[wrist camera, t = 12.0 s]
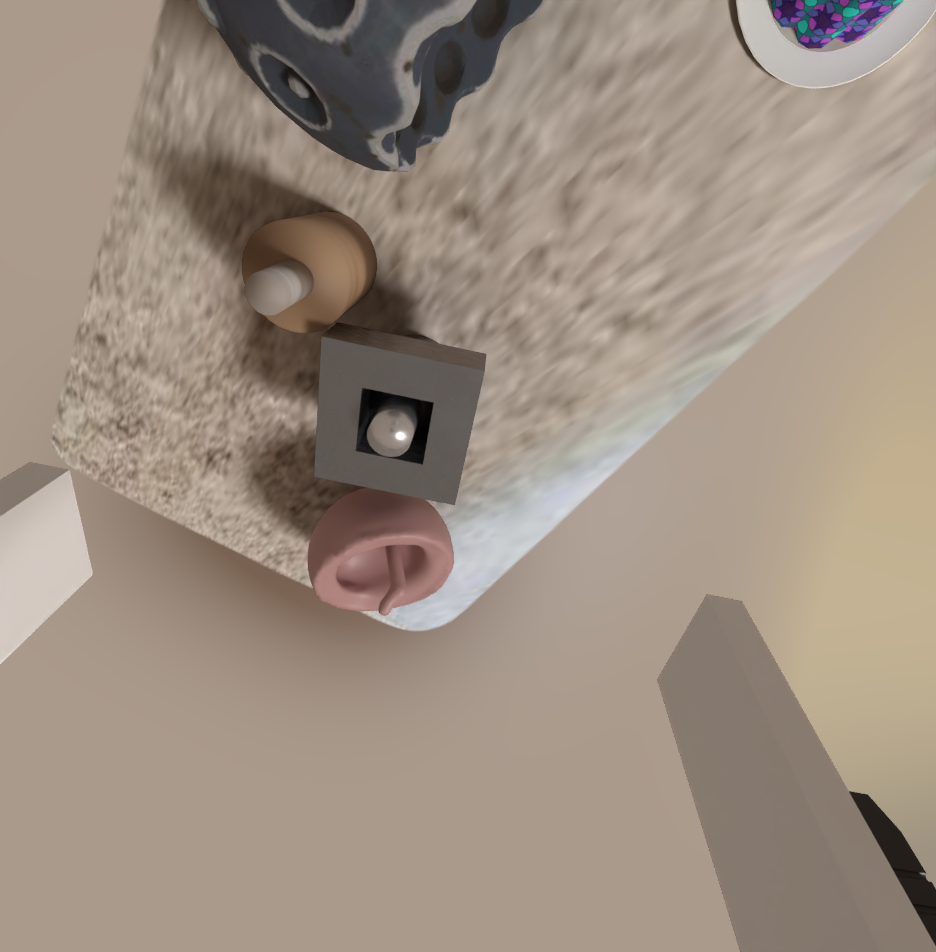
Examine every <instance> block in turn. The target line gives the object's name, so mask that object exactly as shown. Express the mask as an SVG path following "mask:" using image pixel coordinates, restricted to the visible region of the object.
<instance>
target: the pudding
mask: <svg viewBox="0 0 936 952" xmlns="http://www.w3.org/2000/svg"><path fill="white" fill-rule="evenodd" d="M902 1H903V2H902ZM901 2H902V3H901ZM900 3H901V5H900V6H899V7H898V8H897V9H896V11H895V12H894V13H893V14H892V15H891V16H890V17H889V18H888V20H886V21H885V22H884V23H883V24H882V25H881V26H880V27H879V28H878V29H876V30H875V31H874V32H873V33H871V34H870V35H868V36H867V37H865V38H864V39H862V40H861V41H859V42H857V43H855V44H852V45H850V46H848V47H846V48H842V49H839V50H835V51H829V52H814V51H807V50H805V49H802V48H799V47H797V46H795V45H794V44H792V43H791V42H790V41H788V40H787V39H786V38H785V37H784V36H783V34H782V33H781V32H780V31H779V30H778V28H777V26H776V24H775V22H774V20H773V18H772V15H771V12H770V9H769V5H768V0H736V5H737V12H738V19H739V24H740V27H741V30H742V33H743V36H744V39H745V42H746V44H747V45H748V47H749V49H750V51H751V52H752V54H753V56H754V58H755V59H756V60H757V61H758V62H759V63H760V65H761V66H762V67H763V68H764V69H765V70H766V71H767V72H769V73H770V74H771V75H773V76H774V77H776V78H777V79H779V80H780V81H783V82H785V83H788V84H791V85H793V86H797V87H804V88H812V89H815V88H826V87H834V86H837V85H841V84H844V83H848V82H851V81H853V80H855V79H858V78H860V77H862V76H864V75H866V74H868V73H870V72H872V71H873V70H875V69H877V68H878V67H880V66H881V65H883V64H884V63H886V62H887V61H889V60H890V59H891V58H892V57H894V56H895V55H896V54H897V53H898V52H899V51H901V50H902V49H903V48H904V47H905V46H906V45H908V44H909V43H910V42H911V41H912V39H913V38H914V37H915V36H916V35H917V34H918V33H919V32H920V31H921V30H922V29H923V27H924V26H925V25H926V24H927V23H928V21H929V20H930V19H931V17H932V16H933V15H934V13H935V12H936V0H772V1H771V4H772V10H773V15H774V18H775V19H776V20H777V22H778V23H779V24H780V26H781V27H792V28H795V30H796V34H797V38H798V42H799V43H800V44H802V45H804V46H805V47H807V48H822V47H823V46H825V45H826V44H827V43H829V42H830V41H832V40H833V39H834V38H837V39H839V40H841V41H843V42H845V43H849V42H852V41H854V40H857V39H860V38H861V37H863V36H864V35H865V34H866V33H868V32H869V31H870V30H871V29H872V28H874V27H875V26H876V25H877V24H878V23H879V22H880V21H881V20H882V19H884V18H885V17H886V16H887V15H888V14H889V13H890V12H891V11H892V10H894V9H895V8H896V7H897V6H898V5H899V4H900Z"/></svg>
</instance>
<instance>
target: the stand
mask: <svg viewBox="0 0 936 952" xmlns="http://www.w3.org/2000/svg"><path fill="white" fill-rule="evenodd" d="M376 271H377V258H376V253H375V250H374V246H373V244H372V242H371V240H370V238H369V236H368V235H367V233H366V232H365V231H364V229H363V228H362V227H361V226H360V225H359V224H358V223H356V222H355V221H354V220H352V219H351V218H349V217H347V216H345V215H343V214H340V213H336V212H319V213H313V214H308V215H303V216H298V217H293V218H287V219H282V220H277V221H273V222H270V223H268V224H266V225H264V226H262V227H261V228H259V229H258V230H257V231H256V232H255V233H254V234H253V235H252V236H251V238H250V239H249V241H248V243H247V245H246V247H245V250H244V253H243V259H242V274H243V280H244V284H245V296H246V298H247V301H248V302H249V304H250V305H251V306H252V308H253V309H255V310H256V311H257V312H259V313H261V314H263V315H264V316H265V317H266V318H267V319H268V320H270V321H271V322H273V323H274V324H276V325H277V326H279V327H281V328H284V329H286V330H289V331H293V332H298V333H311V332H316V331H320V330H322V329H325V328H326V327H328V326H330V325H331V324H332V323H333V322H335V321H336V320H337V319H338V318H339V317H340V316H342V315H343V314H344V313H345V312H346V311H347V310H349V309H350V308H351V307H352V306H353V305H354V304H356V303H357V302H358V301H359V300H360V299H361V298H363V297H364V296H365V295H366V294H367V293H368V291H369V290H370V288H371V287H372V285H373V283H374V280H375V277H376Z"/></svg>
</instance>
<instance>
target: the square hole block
mask: <svg viewBox="0 0 936 952" xmlns="http://www.w3.org/2000/svg"><path fill="white" fill-rule="evenodd" d="M485 362H486V354H484V353H479V352H474V351H470V350H465V349H460V348H456V347H451V346H446V345H441V344H437V343H432V342H427V341H423V340H418V339H413V338H409V337H404V336H399V335H395V334H390V333H385V332H381V331H376V330H371V329H367V328H362V327H357V326H353V325H348V324H343V323H336V324H335V325H334V326H333V327H332V328H331V329H330V330H328V331H327V332H326V333H325V334H324V335H323V336H322V337H321V356H320V374H319V393H318V412H317V430H316V449H315V467H314V477H316V478H321V479H326V480H331V481H337V482H342V483H347V484H352V485H357V486H362V487H367V488H372V489H377V490H382V491H387V492H392V493H397V494H402V495H407V496H412V497H417V498H422V499H427V500H432V501H437V502H442V503H447V504H452V505H455V502H456V497H457V493H458V488H459V484H460V479H461V475H462V470H463V466H464V461H465V457H466V452H467V448H468V443H469V439H470V434H471V430H472V425H473V421H474V416H475V412H476V407H477V403H478V398H479V394H480V389H481V385H482V380H483V376H484V371H485ZM372 390H376V391H381V392H385V393H390V394H395V395H400V396H405V397H410V398H414V399H419V400H424V401H429V402H434V405H433V410H432V416H431V422H430V427H429V433H428V439H427V441H423V440H418V439H413V438H412V441H411V444H410V447H409V448H408V450H407V451H406V452H405V453H403V454H402V455H400V456H396V457H386V456H383V455H381V454H379V453H377V452H376V451H375V450H373V448H372V447H371V446H370V444H369V442H368V439H367V430H368V420H369V411H370V401H371V392H372Z"/></svg>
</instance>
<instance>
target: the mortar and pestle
mask: <svg viewBox="0 0 936 952" xmlns="http://www.w3.org/2000/svg"><path fill="white" fill-rule="evenodd" d="M453 564H454V552H453V546H452V542H451V537H450V534H449V531H448V529H447V526H446V524H445V522H444V521H443V519H442V517H441V516H440V514H439V513H438V512H437V511H436V509H435V508H434V507H433V506H432V505H431V504H430V503H429V502H427V501H426V500H425V499H422V498H417V497H412V496H407V495H402V494H397V493H392V492H387V491H382V490H377V489H372V488H367V487H365V488H361V489H358V490H355V491H353V492H351V493H349V494H347V495H345V496H343V497H342V498H340V499H339V500H337V501H336V502H335V503H333V504H332V505H331V506H330V507H329V508H328V509H327V511H326V512H325V513H324V514H323V515H322V517H321V518H320V520H319V521H318V523H317V525H316V527H315V529H314V531H313V534H312V536H311V540H310V544H309V549H308V571H309V576H310V580H311V583H312V586H313V589H314V592H315V593H316V594H317V596H318V597H319V598H320V599H321V601H323V602H326V603H328V604H330V605H332V606H335V607H339V608H343V609H348V610H355V611H376V610H379V613H380V614H381V615H384V616H386V615H388V614H389V613H390V611H391V609H392V608H396V607H400V606H404V605H408V604H411V603H414V602H417V601H420V600H422V599H425V598H427V597H429V596H430V595H431V594H434V593H435V592H436V591H437V590H438V589H440V588H441V587H442V586H443V584H444V583H445V581H446V580H447V578H448V576H449V574H450V573H451V571H452V568H453Z"/></svg>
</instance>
